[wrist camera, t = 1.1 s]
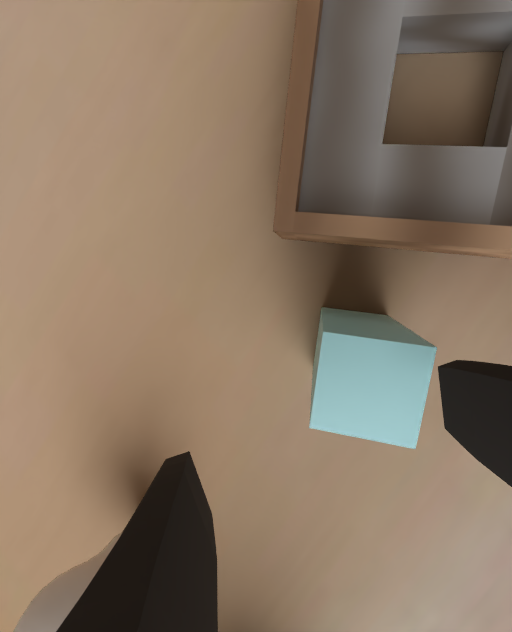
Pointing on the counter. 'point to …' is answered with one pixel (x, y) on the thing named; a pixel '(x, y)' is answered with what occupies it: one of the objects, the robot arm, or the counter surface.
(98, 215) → the counter surface
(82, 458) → the counter surface
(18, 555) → the counter surface
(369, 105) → the bore box
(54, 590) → the lightbulb
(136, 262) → the counter surface
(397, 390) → the peg
